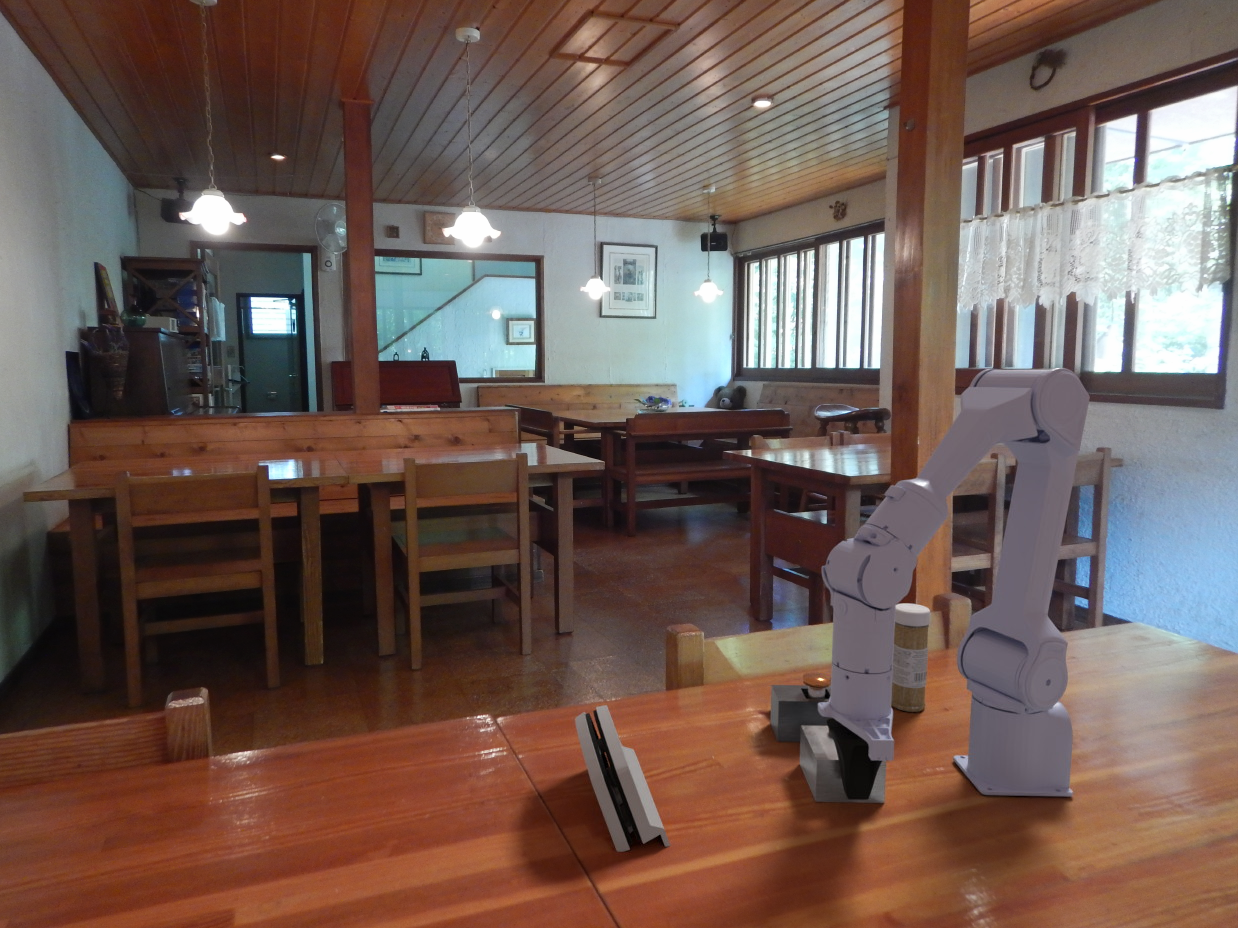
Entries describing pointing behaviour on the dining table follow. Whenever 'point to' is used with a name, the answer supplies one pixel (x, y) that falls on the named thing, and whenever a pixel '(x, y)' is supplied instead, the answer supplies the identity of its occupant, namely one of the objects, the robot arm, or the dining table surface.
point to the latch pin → (816, 684)
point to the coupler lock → (830, 768)
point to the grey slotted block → (618, 782)
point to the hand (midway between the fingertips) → (856, 795)
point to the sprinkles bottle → (910, 657)
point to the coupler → (794, 711)
